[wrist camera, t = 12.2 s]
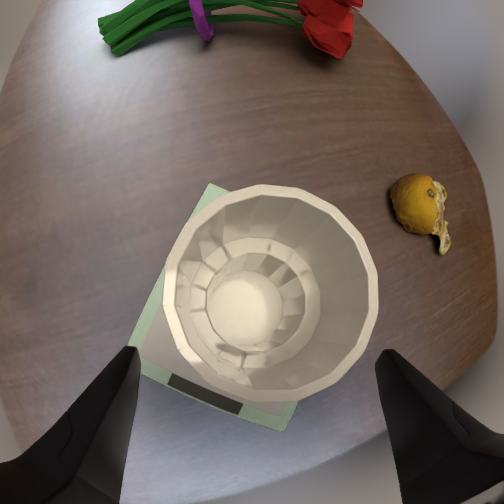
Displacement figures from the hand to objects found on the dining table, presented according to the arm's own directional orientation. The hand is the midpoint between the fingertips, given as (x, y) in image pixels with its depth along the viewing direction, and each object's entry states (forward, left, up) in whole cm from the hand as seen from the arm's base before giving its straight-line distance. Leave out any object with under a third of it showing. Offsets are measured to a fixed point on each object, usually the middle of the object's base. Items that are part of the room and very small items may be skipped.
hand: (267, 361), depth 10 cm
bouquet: (+29, +16, -11) cm, 35 cm away
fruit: (+17, -12, -11) cm, 24 cm away
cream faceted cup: (+2, +1, -8) cm, 9 cm away
